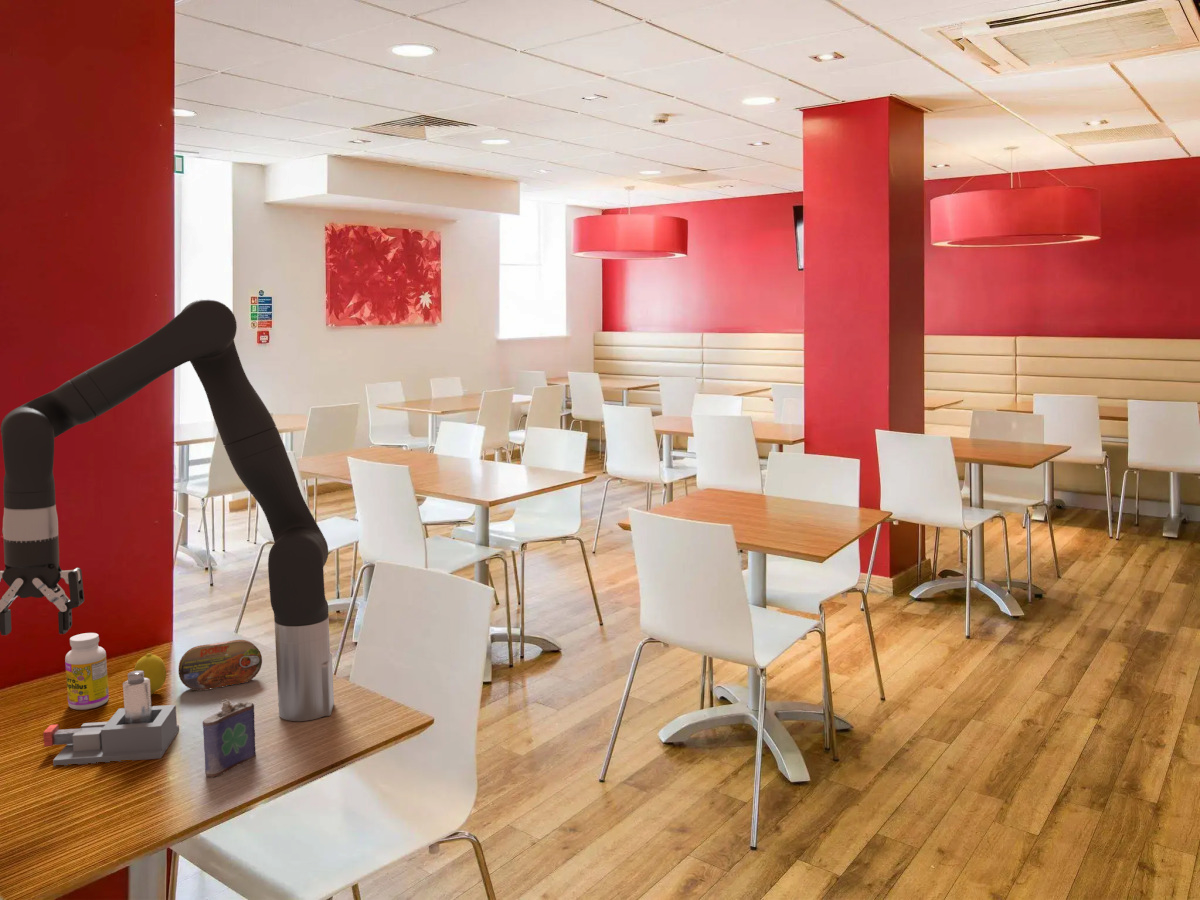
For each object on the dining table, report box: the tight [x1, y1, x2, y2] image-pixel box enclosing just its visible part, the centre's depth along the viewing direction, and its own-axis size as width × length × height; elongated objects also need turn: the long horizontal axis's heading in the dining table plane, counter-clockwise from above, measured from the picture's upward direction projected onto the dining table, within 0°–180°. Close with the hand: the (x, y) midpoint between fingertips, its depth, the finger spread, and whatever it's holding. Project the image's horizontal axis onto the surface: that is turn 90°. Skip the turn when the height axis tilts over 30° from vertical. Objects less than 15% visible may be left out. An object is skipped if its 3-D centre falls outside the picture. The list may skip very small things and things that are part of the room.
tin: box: [178, 639, 263, 692], centre depth 186 cm, size 15×3×8 cm, turn 117°
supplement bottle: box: [64, 632, 110, 711], centre depth 177 cm, size 7×7×13 cm
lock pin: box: [42, 724, 103, 747], centre depth 157 cm, size 9×3×2 cm, turn 99°
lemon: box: [133, 652, 167, 695], centre depth 182 cm, size 6×6×8 cm
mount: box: [52, 704, 180, 767], centre depth 159 cm, size 16×11×5 cm
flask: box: [202, 698, 257, 779], centre depth 152 cm, size 9×3×11 cm, turn 151°
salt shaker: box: [122, 670, 153, 724], centre depth 159 cm, size 4×4×12 cm
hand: (35, 633), depth 155 cm, fingers open, 8 cm apart
